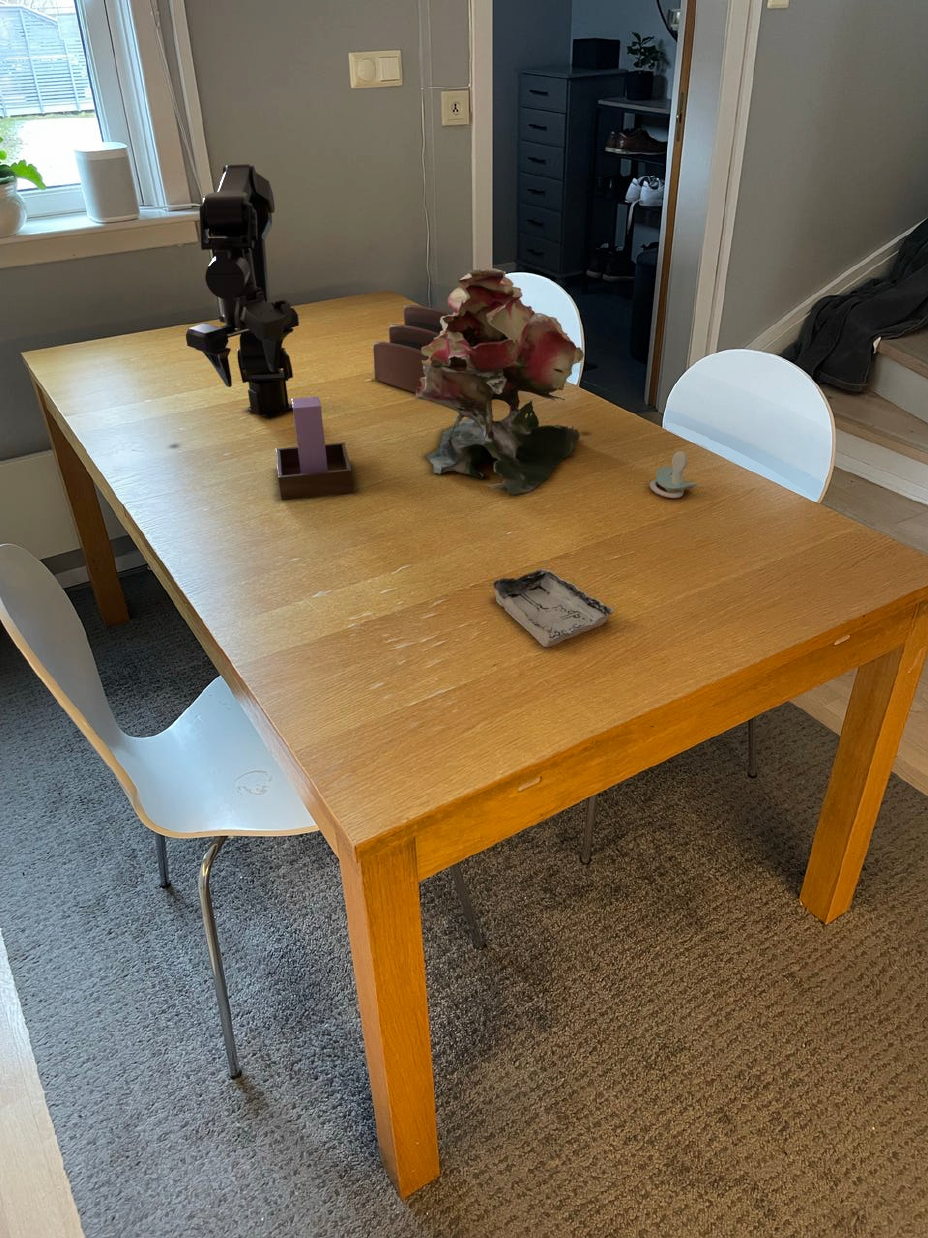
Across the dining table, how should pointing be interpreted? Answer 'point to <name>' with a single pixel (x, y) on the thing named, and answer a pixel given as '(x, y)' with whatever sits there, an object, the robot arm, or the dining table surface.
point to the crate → (314, 474)
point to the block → (310, 434)
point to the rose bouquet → (498, 382)
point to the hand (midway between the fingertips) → (251, 378)
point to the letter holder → (407, 347)
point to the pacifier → (675, 482)
